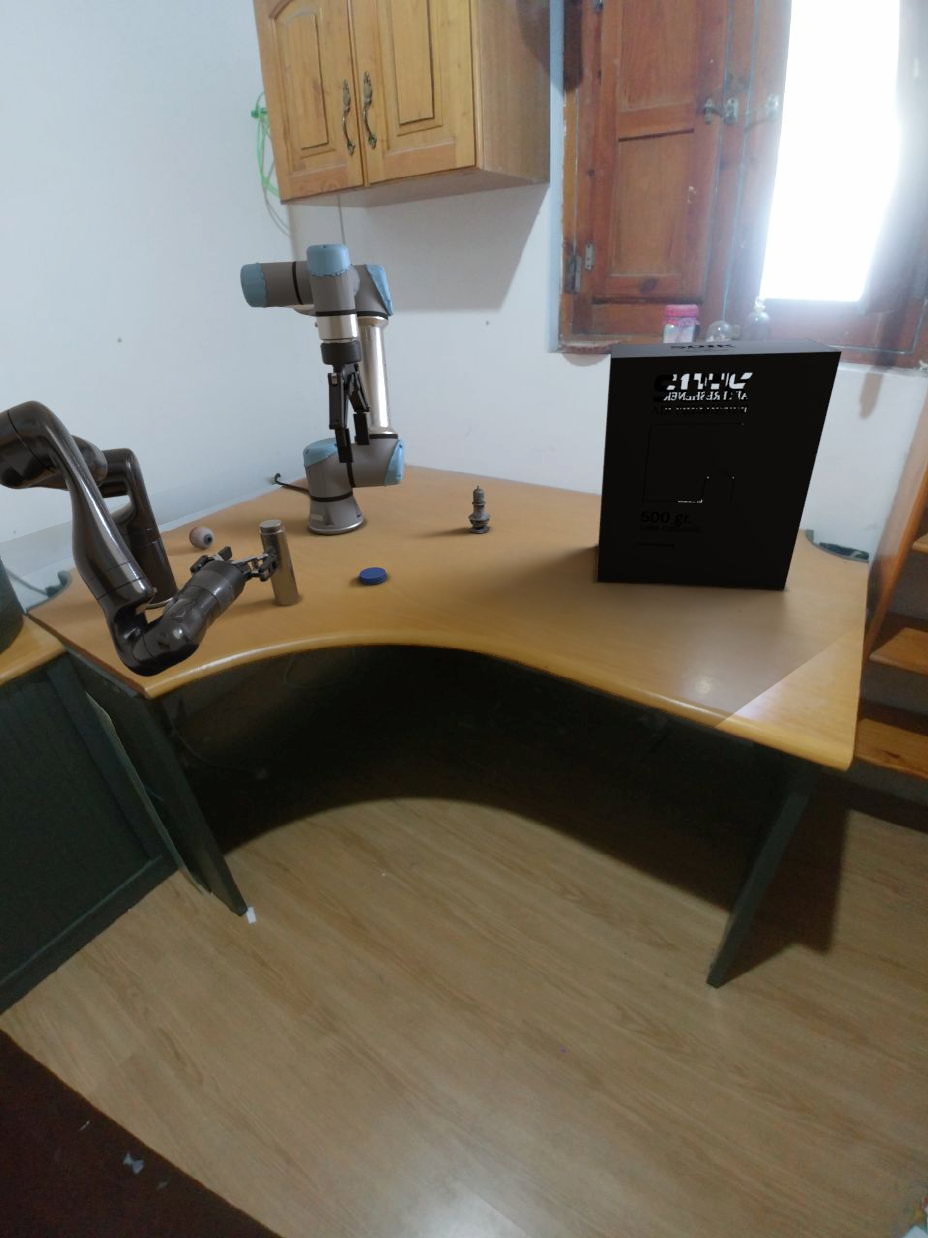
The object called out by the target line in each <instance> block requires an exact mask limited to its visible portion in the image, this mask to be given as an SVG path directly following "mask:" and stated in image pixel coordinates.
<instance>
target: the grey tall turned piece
mask: <svg viewBox="0 0 928 1238" xmlns="http://www.w3.org/2000/svg"><path fill="white" fill-rule="evenodd" d="M486 503H487V502H486V501H485V491H484V490H483V489H482V488H480V486H479V485H477V486H476V488H475V489H473V491H472V502H471V504H472V509H473V510H472V511H473V512H472V513H471V514H469V515H468V517H467V518H468V519H469V523H470V525H472V526H471V527H469V531H470V532H472V533H475V534H484V533H487V532H489V531H490V529H491V528H490V527H489V526H488V524H489V522H490V519H491V515H490V514H489V513H487V512H486Z"/></svg>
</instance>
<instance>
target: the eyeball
mask: <svg viewBox="0 0 928 1238" xmlns="http://www.w3.org/2000/svg"><path fill="white" fill-rule="evenodd" d="M188 539H189V542H190V544H191V545H192V546H193V547H194V548H196V549H198V550H206V549H208V548H210V547H212V545H213V544H214V541H215V535H214V533H213V531H212V529H210V528H209V527H207V526H205V525H198V526H195V527H194V528H192V529H191V530H190V532H189V535H188Z"/></svg>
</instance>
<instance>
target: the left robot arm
mask: <svg viewBox="0 0 928 1238" xmlns="http://www.w3.org/2000/svg"><path fill="white" fill-rule="evenodd" d="M0 485H1V486H2V487H5V488H8V489H12V490H27V489H36V488H43V489H51V490H60V491H64V492H68V493H69V496H70V504H71V519H72V521H71V523H72V526H71V550H72V552H71V553H72V557H73V561H74V562H73V563H74V565H75V568H76V570H77V572H78V574H79V577H80V578H81V580H82V582H84V584H85V586H86V587H87V589H88V590H89V592H90V593H91V595H92V596H93V598H94V599H95V601H97V603H98V605H99V607H100V608H101V609H102V611H103V614H104V619H105V622H106V625H107V628H108V631H109V634H110V637H111V640H112V643H113V646H114V649H115V651H116V654H117V657H118V659H119V661H121V663H122V664H123V665H124V667H126V668H127V669H128V670H129V671H130V672H132V673H133V674H135V675H136V676H140V677H143V678H152V677H155V676H157V675H159V674H162V673H163V672H166V671H167V670H169V669H171V668H174V667H175V666H177V665H179V664H180V663H181V664H182V662H184V661H186V660H188V659H190V658H191V656H193V654H194V653H195V652H196V651H198V649H199V648H200V646H201V645H202V643H203V641H204V638H205V636H206V634H207V630H209V629H210V627H211V626H212V625H214V623H215V622H216V621H217V620H218V618H220V617H221V616H223V615H224V614H225V613H226V612H227V610H228V609H229V608H230V607H231V606H232V605H233V604H234V603H235V601H236V600H237V599H238V598H239V597H240V595H242V593H243V592H244V589H245V586H246V584H247V582H248V581H251V580H252V579H253V578H257V579H259V581H260V583H265V582H268V580H269V579H270V577H271V576H272V575H273V574H274V573H275V572H276V571H277V570H278V569H279V567H278V562H277V558H276V551H275V549H274V547H273V546H269V547H268V548H267V549H266V550H265V551H264V550H263V551H262V553H261V554H258V555H257V556H254V555H249V556H247V557H244V558H241V559H232V558H233V551H232V548H231V546H229V545H228V546H227V545H226V546H224V547H223V548H222V549H219V551H218V552H217V553H213V554H211V556H209V555H208V554H203V555H201V556H200V557H199V558H198V559H197V560H196V561H195V562H194V563H193V564H191V566H190V567H189V571H190V575H191V577H190V578H189V580H187V581H186V582H185V584H184V585H183V587H182V588H181V589H179V588H178V584H177V581H176V579H175V576H174V573H173V570H172V566H171V563H170V560H169V557H168V554H167V551H166V548H165V545H164V542H163V539H162V536H161V533H160V530H159V527H158V524H157V520H156V518H155V515H154V511H153V507H152V504H151V501H150V498H149V494H148V490H147V488H146V483H145V480H144V476H143V472H142V468H141V464H140V462H139V460H138V457H137V455H136V454H135V453H134V451H133V450H132V449H131V448H129V447H117V448H116V447H115V448H108V449H100V448H99V447H98V446H97V445H95V444H94V443H93V442H91V441H89V440H87V439H85V438H82V437H80V436H78V435H76V434H71V433H70V431H69V429H68V428H67V427H66V425H65V424H64V423H63V421H62V420H61V419H60V418H59V417H58V415H56V413H55V412H54V411H53V410H51V409H50V407H48V406H47V405H45V404H44V403H43V402H40V401H38V400H27V401H25V402H24V401H23V402H21V403H19V404H17V405H14V406H12V407H10V408H7V409H5V410H3V411H1V412H0ZM127 496H128V498H129V501H128V502H127V503H126V504H125V505H123V506H122V507H120V508H118V509H117V510H114V511H113V512H111V513H110V510H109V509H108V505H107V504H106V502H105V499H112V498H118V497H127ZM260 561H261V562H262V563H261V564H259V562H260ZM249 563H251V566H250V564H249ZM160 607H164V608H163V610H162V613H161V615H159V616H158V617H156V618H155V619H153V620H151V621H148V618H147V614H146V609H148V610H150V609H155V608H157V609H158V608H160Z"/></svg>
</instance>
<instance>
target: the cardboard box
mask: <svg viewBox="0 0 928 1238" xmlns="http://www.w3.org/2000/svg"><path fill="white" fill-rule="evenodd" d="M841 356H842V350H840V349H838V348H834V347H833V346H829V345H827V344H823V343H821V342H819V341H816V340H813V339H811V338H808V337H807V338H806V337H805V338H780V339H779V338H777V339H776V338H775V339H774V338H773V339H749V340H748V339H746V340H745V339H744V340H718V341H688V342H687V341H685V342H683V341H682V342H681V341H680V342H652V343H624V344H623V343H621V344H611V345H610V358H609V372H608V373H609V374H608V386H607V388H608V392H607V405H606V419H605V420H606V422H605V434H604V451H603V452H604V453H603V466H602V481H601V496H600V512H599V513H600V514H599V528H598V541H597V542H598V543H597V566H596V567H597V568H596V582H609V583H630V584H648V585H649V584H653V585H672V586H673V585H674V586H675V585H676V586H693V587H695V586H697V587H699V586H700V587H716V588H717V587H718V588H719V587H720V588H739V589H740V588H742V589H762V590H764V589H765V590H781V591H782V590H785V588H786V584H787V580H788V576H789V572H790V567H791V563H792V559H793V555H794V551H795V546H796V542H797V538H798V535H799V531H800V528H801V527H800V526H801V522H802V518H803V514H804V509H805V506H806V501H807V497H808V493H809V489H810V485H811V480H812V476H813V472H814V468H815V465H816V460H817V456H818V451H819V447H820V443H821V440H822V435H823V432H824V427H825V423H826V419H827V415H828V410H829V405H830V403H831V398H832V394H833V390H834V386H835V381H836V378H837V374H838V369H839V365H840V360H841ZM745 374H751V375H750V376H749V377H748V378H743V377H744V376H745ZM675 375H676V378H675ZM685 375H688V380H687V386H686V388H682V385H683V377H684V376H685ZM696 375H700V380H699V379H695V377H696ZM710 375H712V377H711V379H710ZM723 375H724V376H723ZM733 376H734V378H733V385H738V384H743V386H742V387H741V388H739V387H738V388H733V387H731V385H730V383H731V379H732V377H733ZM699 385H702V388H699ZM713 385H718V388H712V387H713ZM670 386H671V387H673V388H671V389H668V388H669V387H670Z"/></svg>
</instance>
